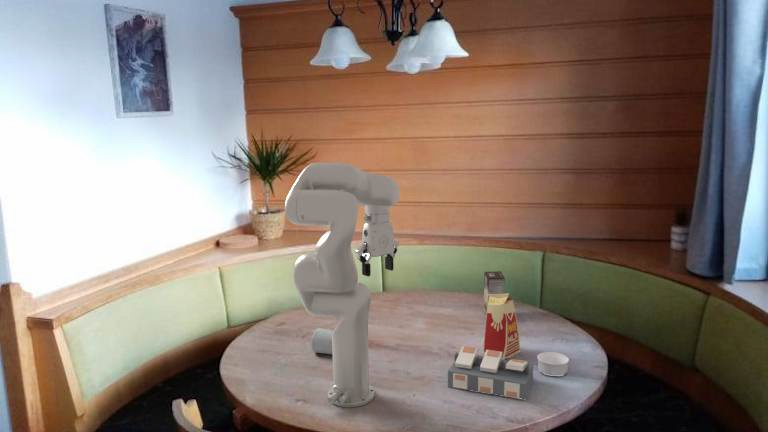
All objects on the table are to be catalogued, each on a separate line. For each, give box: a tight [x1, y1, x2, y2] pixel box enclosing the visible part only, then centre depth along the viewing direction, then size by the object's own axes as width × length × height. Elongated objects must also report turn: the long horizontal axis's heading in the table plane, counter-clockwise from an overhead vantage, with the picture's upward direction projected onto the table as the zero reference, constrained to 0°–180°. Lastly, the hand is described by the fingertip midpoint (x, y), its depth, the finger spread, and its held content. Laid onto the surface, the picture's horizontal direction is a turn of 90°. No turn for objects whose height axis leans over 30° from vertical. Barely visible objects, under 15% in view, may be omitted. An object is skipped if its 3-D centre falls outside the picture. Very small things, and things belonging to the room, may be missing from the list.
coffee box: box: [483, 270, 506, 317], centre depth 212 cm, size 9×6×16 cm
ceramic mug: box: [311, 327, 334, 356], centre depth 184 cm, size 11×8×8 cm
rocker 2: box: [506, 358, 528, 371], centre depth 157 cm, size 8×4×1 cm, turn 157°
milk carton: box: [482, 292, 521, 360], centre depth 179 cm, size 9×9×20 cm
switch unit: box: [447, 352, 534, 399], centre depth 160 cm, size 13×21×7 cm, turn 67°
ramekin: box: [536, 351, 570, 375], centre depth 167 cm, size 9×9×4 cm
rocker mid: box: [480, 350, 502, 373], centre depth 159 cm, size 8×4×1 cm, turn 156°
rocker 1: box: [454, 345, 479, 369], centre depth 162 cm, size 8×4×1 cm, turn 157°
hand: (378, 272), depth 178 cm, fingers open, 9 cm apart
